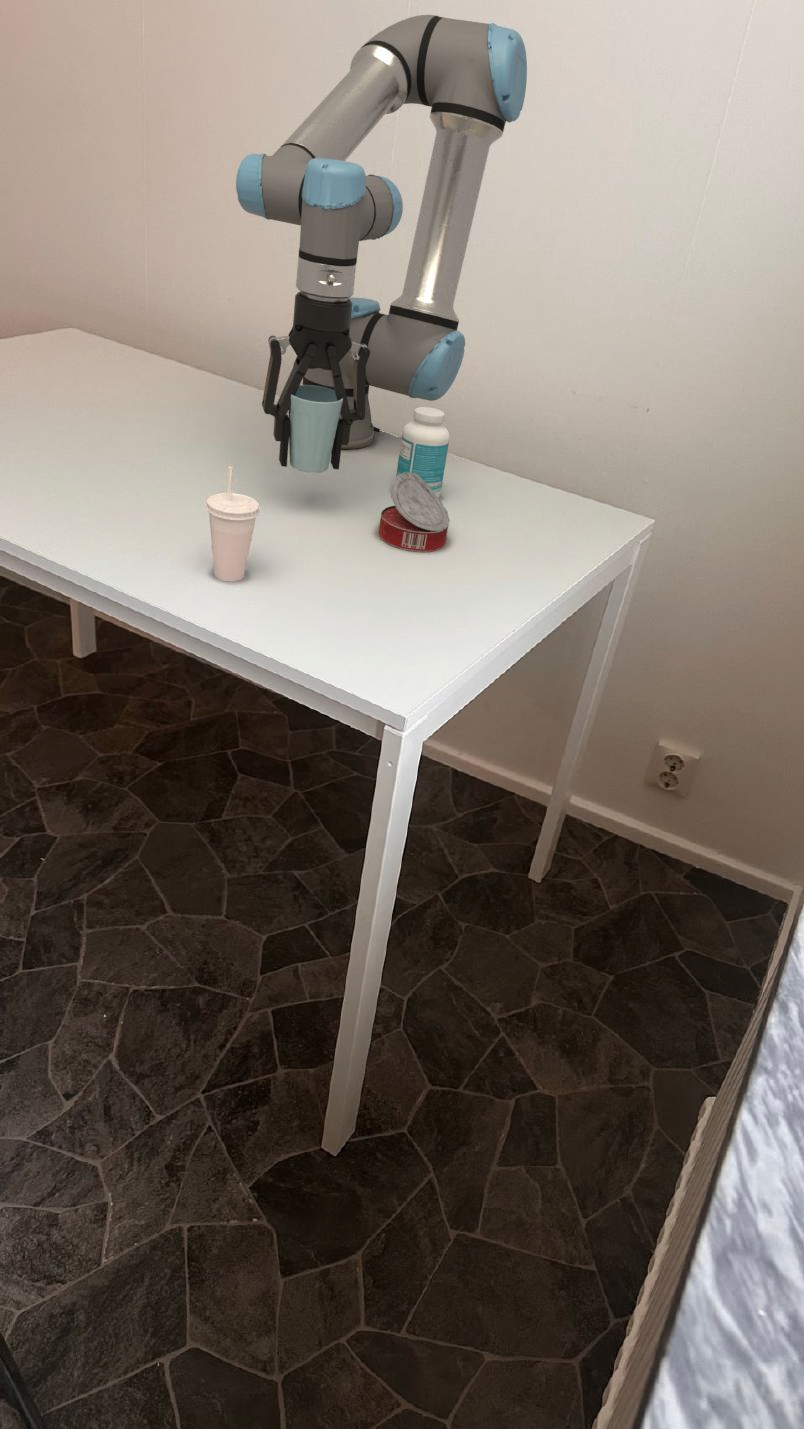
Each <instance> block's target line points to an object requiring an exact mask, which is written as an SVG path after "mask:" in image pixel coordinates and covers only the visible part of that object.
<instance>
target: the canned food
mask: <svg viewBox="0 0 804 1429" xmlns="http://www.w3.org/2000/svg"><path fill="white" fill-rule="evenodd" d="M390 487H391V488H390V491H391V492H390V497H391V499H392V502H393V504H394V505H391V506H387V507H385V508H384V509H382V510H381V512H380V519H379V525H378V526H379V527H378V532H377V534H378V536H379V538H380V539H381V541H383V542H384V543H385V544H388V545H389V546H392V547H394V548H397V549H400V550H402V551H403V550H404V551H408V552H415V553H429V552H435V551H440V550H441V549H443V547H445V545H446V540H447V535H448V530H449V526H450V517H449V513H448V510H447V509H446V507H445V505H444V504H443V502H442V500H441V499H440V497H439V498H438V497H437V496H436V494H435V493H434V492H433V490H432V489H431V488H430V487H429V486H428V485H427V484H426V483H425V481H424V480H423V479H422V478H421V477H420V476H418V475H417V474H416V473H409V472H407V471H406V472H404V473H401V474H399V475H397V477H396V476H395V478H394V480H393V482H392V484H391V486H390Z"/></svg>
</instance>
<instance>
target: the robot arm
mask: <svg viewBox="0 0 804 1429" xmlns="http://www.w3.org/2000/svg"><path fill="white" fill-rule="evenodd" d="M349 66H350V67H349V71H348V72H347V74H346V75H344V77H343V78H342V79H341V80H340V81H339V82H338V83H337V85H335V87H334V88H333V89H332V90H331V91H330V92H329V93H328V94H327V96H326V97H324V99H323V100H322V101H321V102H320V103H319V104H318V105H317V106H316V107H315V108H314V110H313V111H311V113H310V114H309V115H308V116H307V117H306V119H304V120H303V121H302V123H301V124H300V125H299V126H298V127H297V128H296V129H295V130H294V131H293V132H292V134H291V135H289V137H288V138H287V139H286V140H285V141H284V143H282V145H280V147H279V148H278V149H277V150H276V151H275V152H274V153H273V154H272V155H267V153H263V152H262V153H250V154H247V155H246V156H244V157H243V159H242V160H241V162H240V164H239V166H238V169H237V172H236V179H235V191H236V194H237V201H238V203H239V205H240V207H241V208H242V209H243V210H244V211H245V212H246V213H249V214H252V215H255V216H258V217H262V218H264V219H265V220H269V221H270V220H271V221H277V222H280V223H281V222H282V223H286V224H290V225H291V224H292V225H297V226H300V230H299V231H300V233H299V234H300V235H299V247H298V257H297V268H296V269H297V270H296V271H297V272H296V281H295V287H296V289H297V290H298V292H296V294H295V296H294V306H293V318H292V319H293V320H292V321H293V322H292V327H291V329H290V331H289V333H288V335H284V336H276V335H270V336H269V337H268V339H267V340H268V347H269V353H270V355H269V360H268V361H269V362H268V367H267V372H266V378H265V385H264V388H263V389H264V390H263V395H262V401H261V406H262V409H263V412H264V414H266V415H270V416H272V417H273V419H274V420H273V437H274V440H275V442H279V453H278V454H279V455H278V461H279V464H280V466H281V467H283V468H285V467H286V468H287V467H288V458H289V456H288V455H289V432H290V419H289V414H288V413H289V408H290V405H291V395H293V396H295V394H296V392H297V390H298V388H299V385H314V386H321V387H326V388H329V389H332V390H335V395H336V399H337V401H339V400H341V399H342V398H343V402H342V407H341V412H340V416H339V420H338V425H337V429H336V434H335V439H334V443H333V448H332V452H331V457H330V464H331V467H332V469H333V470H340V463H341V453H342V450H351V449H352V450H353V449H354V450H355V449H361V448H365V447H367V446H370V445H371V444H372V443H373V440H374V433H375V432H376V433H380V432H381V429H380V428H378V427H377V426H374V423H373V422H372V413H371V406H370V400H369V391H370V387H374V388H378V389H382V390H384V391H389V392H392V393H396V394H400V395H404V396H407V397H409V398H411V399H419V400H425V401H429V402H433V401H437V400H440V399H441V398H443V396H444V395H446V393H447V392H448V391H449V389H450V388H451V387H452V385H453V383H455V382H454V381H455V380H456V377H457V375H458V373H459V371H460V369H461V366H462V363H463V359H464V356H465V347H466V338H465V335H464V334H463V333H462V332H461V331H460V330H458V327H459V323H460V319H459V316H458V315H457V312H456V311H455V309H454V304H455V301H456V300H455V299H456V295H457V291H458V287H459V282H460V279H461V278H460V277H461V274H462V269H463V265H464V260H465V257H466V252H467V248H468V243H469V239H470V235H471V230H472V226H473V221H474V217H475V213H476V208H477V205H478V204H477V203H478V201H479V200H478V199H479V196H480V195H479V194H480V191H481V187H482V183H483V178H484V174H485V169H486V166H487V161H488V157H489V152H490V147H491V145H492V144H494V143H495V142H496V141H498V140H499V139H501V138H502V137H503V135H504V132H505V131H504V130H505V126H506V122H507V123H509V124H510V123H512V122H515V121H517V120H518V119H519V117H520V115H521V111H522V110H523V107H524V102H525V98H526V91H527V81H528V60H527V50H526V46H525V43H524V39H523V37H522V36H521V34H520V33H519V32H518V31H517V30H515V29H513V28H508V27H504V26H500V25H497V24H496V23H494V22H493V23H488V22H487V23H486V22H479V21H472V20H463V19H456V18H450V17H444V16H439V15H434V14H421V15H419V14H418V15H415V16H411V17H407V18H405V19H402V20H400V21H397V22H396V23H393V24H391V25H389V26H388V27H386V28H384V29H383V30H381V31H379V32H378V33H376V34H375V35H373V36H372V37H371V38H370V39H368V41H366V42H365V43H364V44H363V45H362V46H361V47H360V48H359V49H358V50H357V51H356V52H355V54H354V56H353V57H352V60H351V62H350V65H349ZM409 104H410V105H411V104H413V105H420V106H421V105H422V106H425V107H430V113H429V119H430V121H431V123H432V125H433V127H434V129H435V132H436V133H435V137H434V142H433V147H432V150H431V156H430V161H429V166H428V170H427V175H426V179H425V185H424V188H423V193H422V198H421V203H420V209H419V213H418V218H417V222H416V227H415V232H414V237H413V241H412V245H411V251H410V255H409V259H408V265H407V271H406V274H405V278H404V282H403V283H404V284H403V289H402V293H401V295H400V296H398V298H396V299H395V300H393V301H392V302H391V303H390V304H389V305H390V306H389V310H388V314H385V313H382V312H380V311H381V305H380V303H379V301H377V300H374V299H371V298H365V297H353V295H354V292H355V291H354V290H355V280H356V270H357V263H358V254H359V245H360V242H363V241H364V242H365V241H369V240H370V241H371V240H372V241H375V240H376V241H377V239H378V240H379V239H381V238H383V237H385V236H387V235H389V234H391V233H392V232H393V231H394V230H396V228H397V227H398V226H399V224H400V221H402V220H401V219H402V217H403V211H404V204H403V198H402V194H401V192H400V190H399V188H398V186H397V185H396V184H395V183H394V182H393V181H392V180H390V179H389V178H387V177H385V176H382V175H377V174H376V175H375V174H373V173H371V174H370V173H369V174H368V175H366V174H367V173H366V171H365V169H364V167H363V166H362V165H361V164H358V163H355V162H350V161H347V160H348V159H349V157H350V156H351V155H352V153H354V151H355V150H357V148H358V147H359V146H360V145H361V143H362V142H363V141H364V140H365V138H366V137H367V136H368V135H369V134H370V133H371V131H372V130H373V129H374V128H375V127H376V126H377V125H378V124H379V122H380V121H381V120H382V119H383V118H384V116H385V115H389V114H393V113H395V112H397V111H398V110H399V109H401V107H402V106H404V105H409ZM289 346H291V348H292V350H293V351H294V353H295V355H296V356H295V360H294V362H293V365H292V368H291V371H290V374H289V376H288V378H287V380H286V382H285V383H284V384H285V385H284V387H283V389H282V392H281V393H280V395H279V398H278V400H277V402H276V401H275V400H276V394H277V390H278V389H277V388H278V383H279V379H280V374H281V373H280V372H281V367H282V359H283V358H282V355H285V354H286V353H287V348H288V347H289ZM275 402H276V404H275Z"/></svg>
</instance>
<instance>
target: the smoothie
mask: <svg viewBox="0 0 804 1429" xmlns="http://www.w3.org/2000/svg"><path fill="white" fill-rule="evenodd" d="M233 472H234V467H233V466H228V467H227V481H226V482H227V483H226V492H220V493H215V494H212V495H210V496H209V497H208V498H207V499H206V506H205V508H206V511H207V512H208V516H209V529H210V539H211V551H212V554H211V555H212V564H213V565H212V566H213V576H214V577H215V578H216V579H218V580H220V581H222V582H223V581H224V582H229V583H230V582H231V583H234V582H239V581H242V580H243V579H244V578H245V573H246V569H247V564H248V558H249V554H250V548H251V543H252V538H253V534H254V529H255V524H256V518H257V517H258V516H259V515H260V503H259V502H258V501H257V499H255V498H253V497H251V496H248V495H246V494H242V493H237V492H236V493H235V492H233V476H234V475H233V474H234V473H233Z"/></svg>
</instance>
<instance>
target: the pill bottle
mask: <svg viewBox="0 0 804 1429" xmlns="http://www.w3.org/2000/svg"><path fill="white" fill-rule="evenodd" d="M444 420H445V412H444V411H442V410H441V409H438V408H435V407H428V406H418V407H416V408H414V410H413V420H412V421H409V422H407V423H406V424H405V425H404V426H403V427H402V430H401V431H402V432H401V439H400V446H399V452H398V461H397V468H396V474H395V478H396V477H397V475H399V474H401V473H404V472H406V471H407V472H409V473H416V474H417V475H418V476H420V477H421V478H422V479H423V480H424V481H425V483H426V484H427V485H428V486H429V487H430V488H431V489H432V490H433V492H434V493H435V494H436V496H437V497H438V498H439V499H440V497H441V492H442V487H443V480H444V475H445V468H446V462H447V457H448V451H449V443H450V438H451V436H450V432H449V430H448V429H447V428H446V427H445V426H444V425H442V424H443V423H444V422H445V421H444Z"/></svg>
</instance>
